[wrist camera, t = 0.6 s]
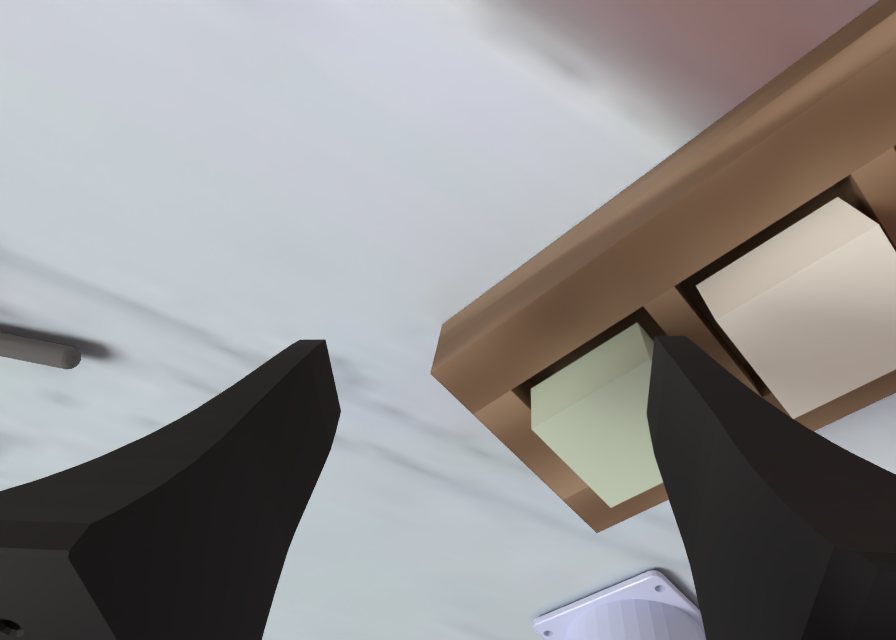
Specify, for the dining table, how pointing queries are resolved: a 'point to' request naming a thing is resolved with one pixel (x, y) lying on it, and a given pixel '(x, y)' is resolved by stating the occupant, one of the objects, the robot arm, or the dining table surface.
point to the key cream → (812, 307)
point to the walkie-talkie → (39, 351)
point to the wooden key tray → (686, 248)
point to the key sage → (602, 417)
